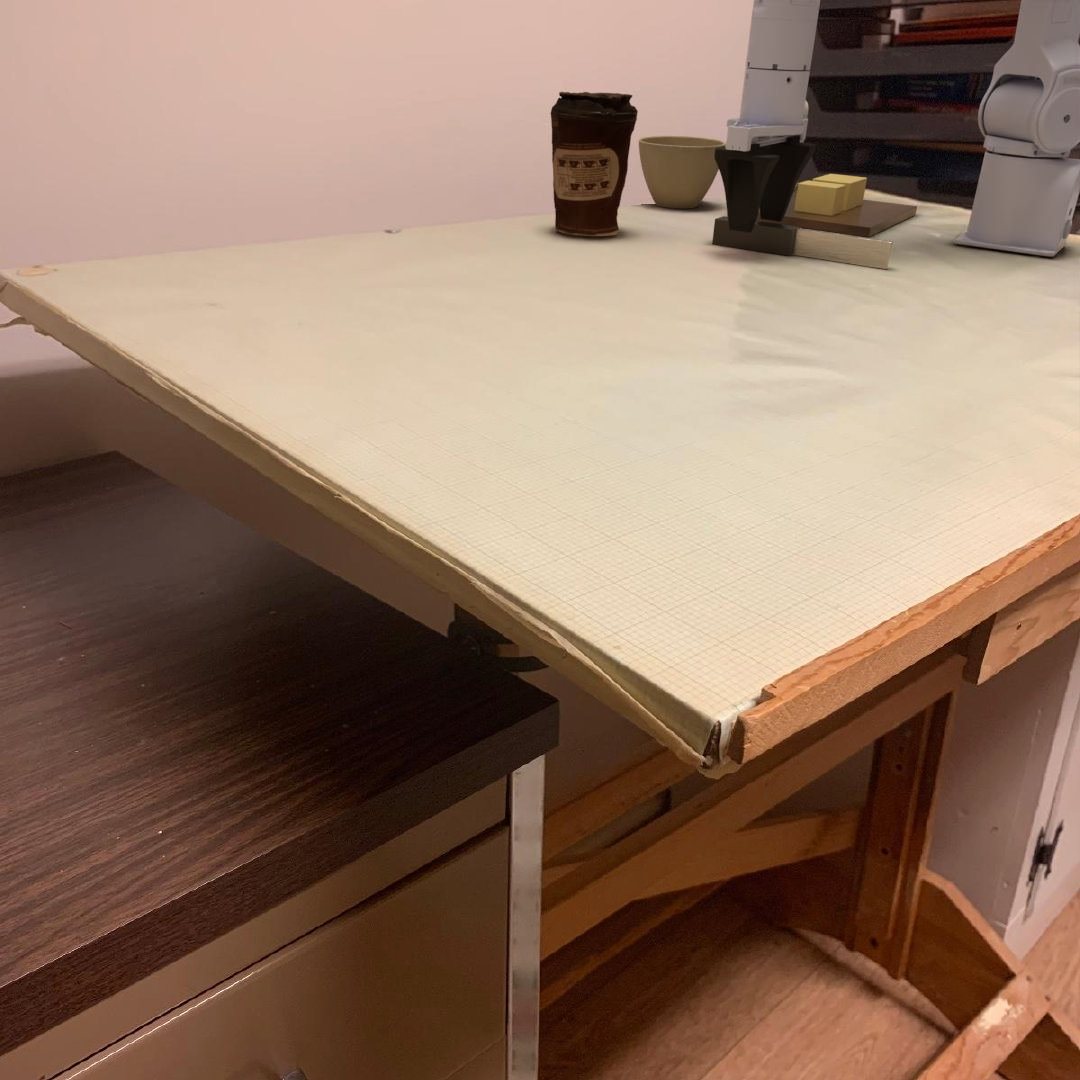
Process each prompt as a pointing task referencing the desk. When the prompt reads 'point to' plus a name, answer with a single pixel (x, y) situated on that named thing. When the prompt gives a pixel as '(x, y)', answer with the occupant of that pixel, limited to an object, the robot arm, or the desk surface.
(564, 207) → the coffee cup
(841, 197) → the butter slice
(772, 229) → the knife
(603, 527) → the desk surface
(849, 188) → the butter block
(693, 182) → the tan bowl
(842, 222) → the butter board
